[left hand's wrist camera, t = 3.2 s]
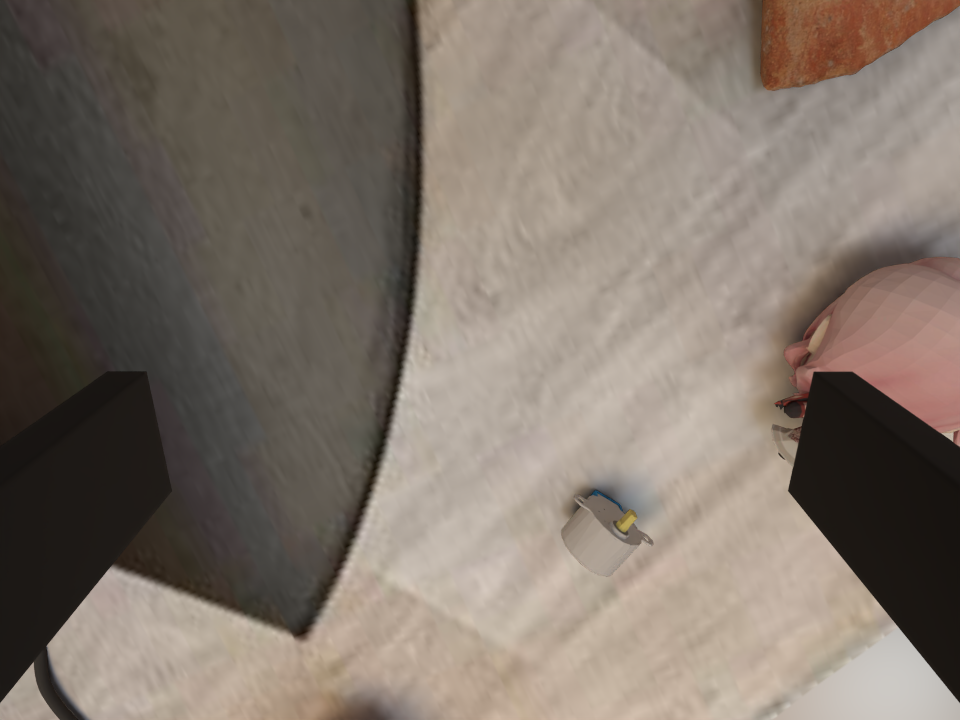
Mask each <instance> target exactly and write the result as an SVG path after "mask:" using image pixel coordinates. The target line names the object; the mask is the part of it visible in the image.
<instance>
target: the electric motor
mask: <svg viewBox="0 0 960 720" xmlns="http://www.w3.org/2000/svg"><path fill="white" fill-rule="evenodd" d="M578 498H579V499H581V500H582V501H583V502H584V503H582V502H580V500H579V499H578ZM574 499H575V501H576V502H577V503H578V504H579V505H580V506H581V507H580V508H579V509H578V510H577V512H576V513H575V514H574V515H573V516H572V517H571V519H570V520H569V521H568V522H567V523H566V525H565V526H564V527H563V528H562V531H561V535H562V539H563V541H564V544H565V546H566V547H567V549H568V550H569V552H570V553H571V554H572V555H573V556H574V557H575V558H576V559H577V560H578V562H579V563H580V564H582V565H583V566H584V567H585V568H587V569H588V570H590V571H592V572H593V573H595V574H597V575H600V576H606V577H607V576H611V575H612V574H613V573H614V572H615V571H616V570H617V569H618V568H619V566H620V565H621V564H622V563H623V562H624V561H625V560H626V559H627V558H628V557H629V556H630V555H631V553H632V552H633V551H634V550H635V549H636V548H637V547H638V546H639V545H640V544H641V542H643V543H645V544H647V545H649V546H653V545H654V544H653V541H652V539H651V538H650V537H649V536H648V535H647V534H645V533H643V532H641V531H640V530H638V529H637V527H636V526H635V524H634V523H633V522H634V521H635V520H636V519H637V515H636V513H635V512H634V511H633V510H631V509H629V511H628V512H627V513H626V514H624V513H623V512H622V511H623V510H622V507H621V505H620V504H619V503H617V502H615V501H614V500H612V499H610V498H609V497H607V496H605V495H603V494H602V493H600V492H598V491H596V490H595V491H594V492H593V493H592V495H591V496H589V497H588V498H587V499H585V498H583V497H582V496H580V495H579V494H575V495H574ZM643 536H644V537H646V538H647V539H648V541H647V540H646V539H645V538H644V537H643Z"/></svg>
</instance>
